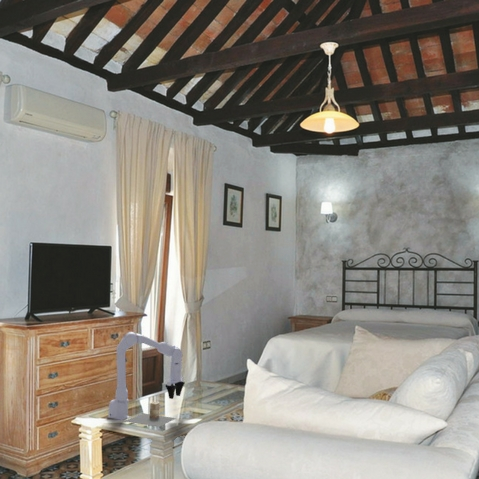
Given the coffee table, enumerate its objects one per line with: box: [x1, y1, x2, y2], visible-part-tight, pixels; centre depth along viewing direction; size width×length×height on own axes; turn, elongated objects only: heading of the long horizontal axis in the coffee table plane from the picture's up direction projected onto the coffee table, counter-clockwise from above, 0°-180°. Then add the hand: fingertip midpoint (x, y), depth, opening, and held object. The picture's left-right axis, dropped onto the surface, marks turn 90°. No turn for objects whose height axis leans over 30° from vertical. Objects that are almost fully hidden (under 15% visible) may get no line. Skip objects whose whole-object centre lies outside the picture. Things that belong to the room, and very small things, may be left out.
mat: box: [124, 413, 177, 428], centre depth 290 cm, size 20×18×1 cm
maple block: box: [149, 401, 161, 418], centre depth 296 cm, size 4×4×7 cm
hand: (174, 397), depth 299 cm, fingers open, 7 cm apart
